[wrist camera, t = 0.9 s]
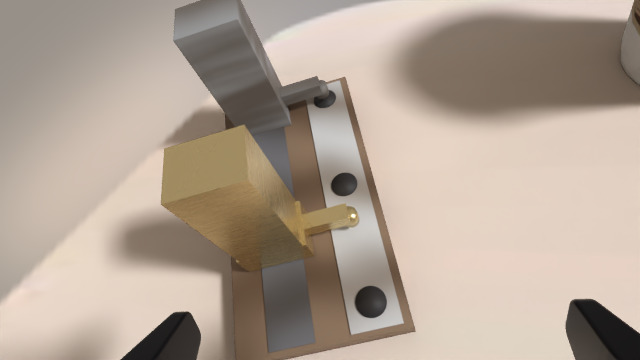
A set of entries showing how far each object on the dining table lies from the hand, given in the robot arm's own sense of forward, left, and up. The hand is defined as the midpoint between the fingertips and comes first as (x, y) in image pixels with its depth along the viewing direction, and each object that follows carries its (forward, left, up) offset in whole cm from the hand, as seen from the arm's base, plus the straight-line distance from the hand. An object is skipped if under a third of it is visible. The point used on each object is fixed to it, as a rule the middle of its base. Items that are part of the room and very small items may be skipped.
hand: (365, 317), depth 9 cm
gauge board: (+8, +9, -15) cm, 19 cm away
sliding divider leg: (+5, +8, -13) cm, 16 cm away
